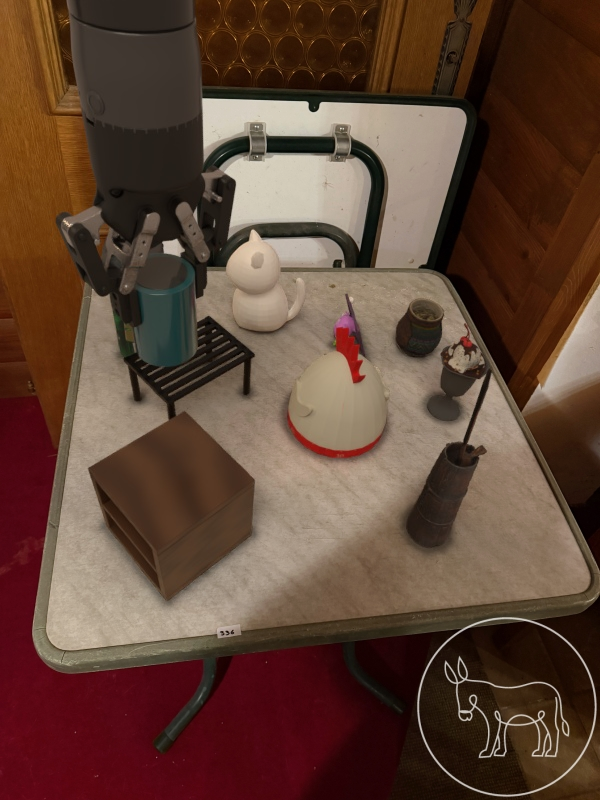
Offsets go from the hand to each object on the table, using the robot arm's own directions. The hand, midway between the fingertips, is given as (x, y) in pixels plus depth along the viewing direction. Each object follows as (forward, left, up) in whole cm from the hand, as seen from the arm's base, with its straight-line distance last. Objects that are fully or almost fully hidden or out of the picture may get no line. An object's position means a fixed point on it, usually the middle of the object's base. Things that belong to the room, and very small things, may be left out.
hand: (162, 306), depth 48 cm
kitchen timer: (+23, -4, -29) cm, 38 cm away
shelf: (-3, -4, -29) cm, 30 cm away
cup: (0, 0, -5) cm, 5 cm away
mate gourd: (+44, -2, -29) cm, 53 cm away
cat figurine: (+29, +18, -29) cm, 45 cm away
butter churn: (+20, -24, -29) cm, 43 cm away
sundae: (+37, -13, -29) cm, 49 cm away
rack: (+10, +12, -29) cm, 33 cm away
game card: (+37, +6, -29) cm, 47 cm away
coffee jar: (+12, +25, -29) cm, 40 cm away
